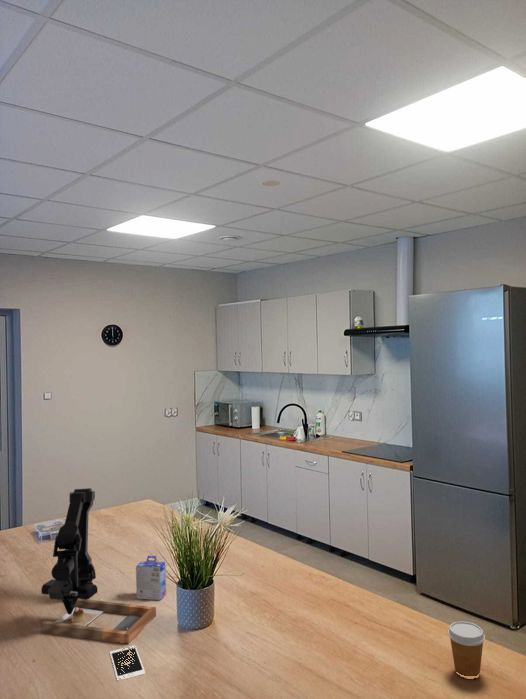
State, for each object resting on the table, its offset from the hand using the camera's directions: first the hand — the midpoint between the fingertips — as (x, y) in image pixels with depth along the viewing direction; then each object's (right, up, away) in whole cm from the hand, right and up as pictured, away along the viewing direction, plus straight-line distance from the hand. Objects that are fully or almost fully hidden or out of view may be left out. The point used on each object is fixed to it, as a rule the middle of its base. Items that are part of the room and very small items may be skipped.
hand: (70, 614), depth 184 cm
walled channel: (+11, -2, -3) cm, 12 cm away
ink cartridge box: (+25, -2, +16) cm, 29 cm away
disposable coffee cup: (+122, +1, -36) cm, 127 cm away
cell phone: (+26, -2, -26) cm, 37 cm away
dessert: (+3, -3, 0) cm, 4 cm away
